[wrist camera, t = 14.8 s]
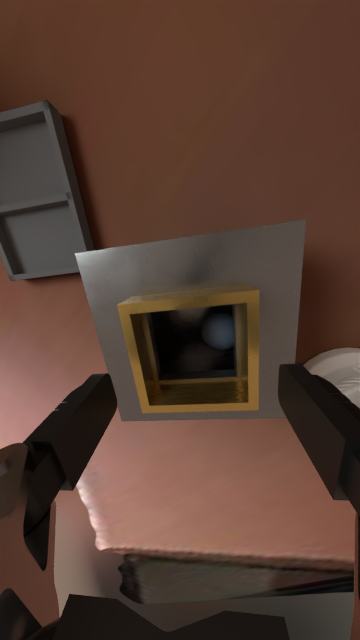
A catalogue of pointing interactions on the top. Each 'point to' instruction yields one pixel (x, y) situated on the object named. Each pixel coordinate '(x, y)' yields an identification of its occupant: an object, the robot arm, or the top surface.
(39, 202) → the tray
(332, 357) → the decorative container
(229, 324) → the bead
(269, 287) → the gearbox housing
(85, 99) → the top surface
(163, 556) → the top surface
